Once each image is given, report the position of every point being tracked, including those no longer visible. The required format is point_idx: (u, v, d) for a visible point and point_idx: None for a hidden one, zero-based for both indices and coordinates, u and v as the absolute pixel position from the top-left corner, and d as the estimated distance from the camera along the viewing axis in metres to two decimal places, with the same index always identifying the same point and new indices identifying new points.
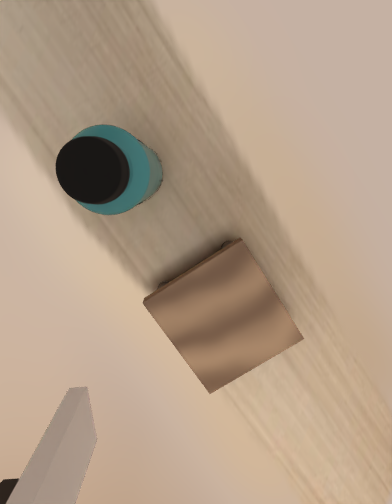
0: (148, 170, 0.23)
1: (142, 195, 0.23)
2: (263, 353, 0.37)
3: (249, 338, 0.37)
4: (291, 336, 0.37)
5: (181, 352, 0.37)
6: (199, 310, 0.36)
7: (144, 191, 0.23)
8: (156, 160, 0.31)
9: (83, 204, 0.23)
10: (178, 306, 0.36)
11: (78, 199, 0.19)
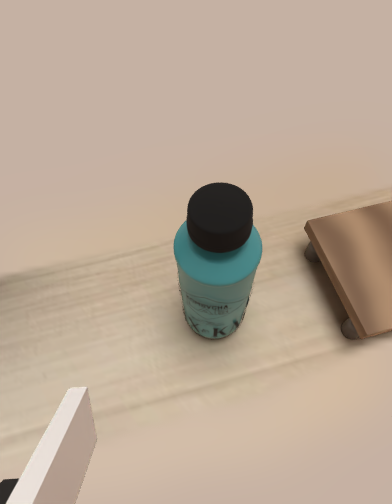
0: None
1: None
2: None
3: None
4: None
5: None
6: (382, 277, 0.31)
7: None
8: None
9: (244, 272, 0.21)
10: (376, 297, 0.30)
11: (244, 222, 0.18)
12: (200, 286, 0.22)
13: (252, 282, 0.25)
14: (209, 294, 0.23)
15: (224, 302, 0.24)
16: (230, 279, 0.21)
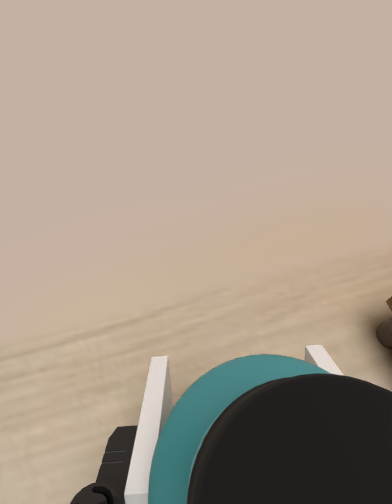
0: (300, 361, 0.09)
1: None
2: None
3: None
4: None
5: None
6: None
7: None
8: None
9: None
10: None
11: None
12: None
13: None
14: None
15: None
16: None
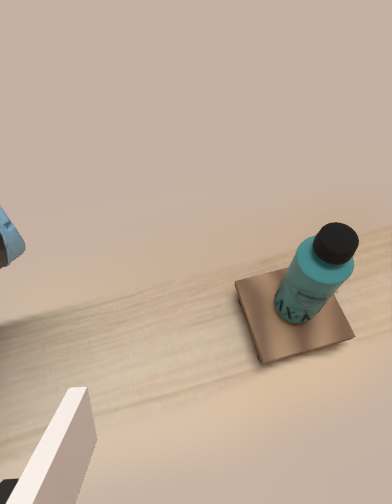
0: None
1: None
2: None
3: None
4: None
5: (312, 346, 0.46)
6: (279, 322, 0.48)
7: None
8: None
9: (346, 275, 0.34)
10: (273, 336, 0.47)
11: (355, 247, 0.31)
12: (316, 285, 0.35)
13: None
14: (319, 290, 0.36)
15: (325, 295, 0.37)
16: (338, 280, 0.34)
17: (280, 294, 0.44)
